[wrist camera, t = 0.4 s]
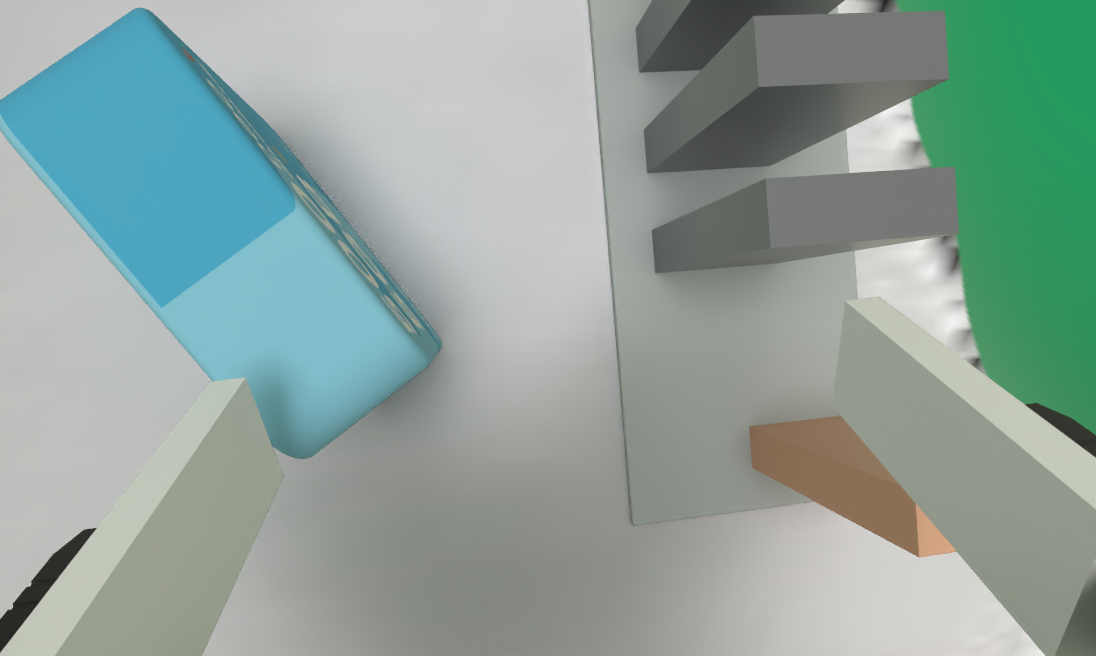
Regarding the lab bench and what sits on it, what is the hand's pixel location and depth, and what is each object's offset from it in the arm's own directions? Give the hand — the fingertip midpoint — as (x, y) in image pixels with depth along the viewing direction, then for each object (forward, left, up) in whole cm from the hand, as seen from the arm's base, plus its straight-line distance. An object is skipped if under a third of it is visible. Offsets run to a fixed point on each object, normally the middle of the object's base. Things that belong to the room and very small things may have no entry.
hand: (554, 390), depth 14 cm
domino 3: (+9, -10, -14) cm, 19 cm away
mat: (+6, -11, -15) cm, 19 cm away
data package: (+4, +8, -15) cm, 17 cm away
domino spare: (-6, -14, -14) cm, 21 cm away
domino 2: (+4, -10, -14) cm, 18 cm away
